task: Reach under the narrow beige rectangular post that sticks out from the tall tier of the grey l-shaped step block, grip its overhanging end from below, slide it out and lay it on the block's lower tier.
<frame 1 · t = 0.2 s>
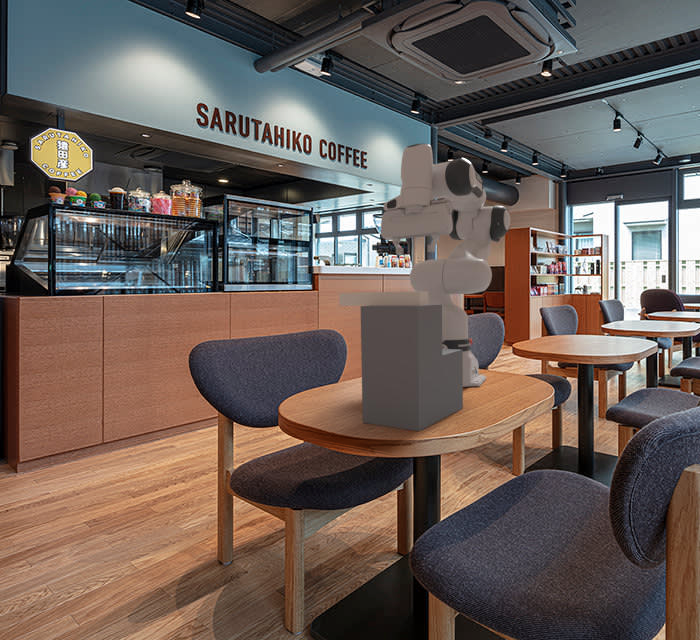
hand: (415, 253, 137), 39 cm above the table, tool pointing down, fingers open, 8 cm apart
grey l-shaped step block: (415, 415, 119), on the table
beige rectangular post: (382, 305, 115), point 26 cm above the table, touching grey l-shaped step block
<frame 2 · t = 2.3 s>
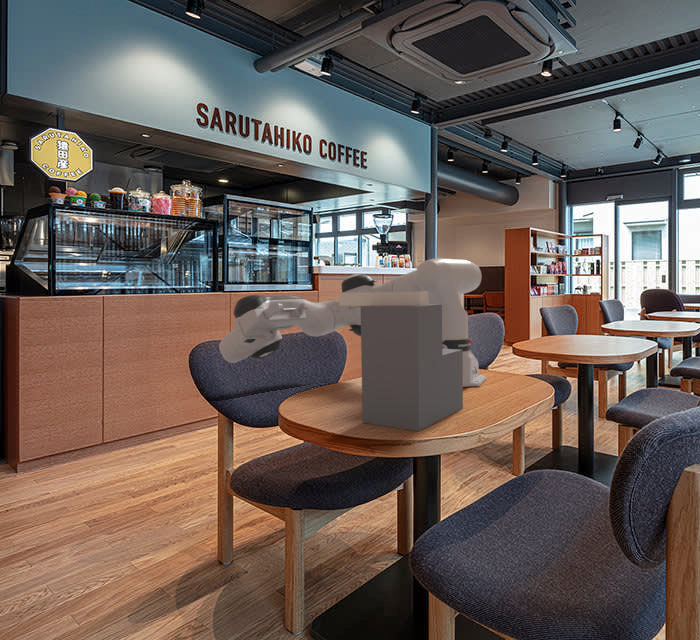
hand: (293, 305, 132), 26 cm above the table, tool pointing upward, fingers open, 8 cm apart
nothing on the table moved.
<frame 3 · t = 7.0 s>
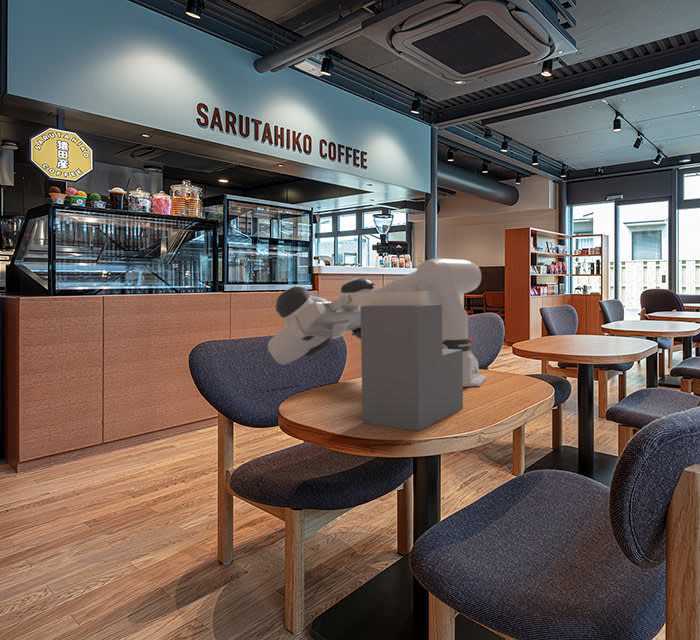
hand: (355, 297, 119), 28 cm above the table, tool pointing upward, fingers closed on beige rectangular post, 4 cm apart
beige rectangular post: (382, 305, 115), point 26 cm above the table, touching gripper, grey l-shaped step block
when the fingers open (19 cm above the table, at t = 17.0 s): beige rectangular post drops 2 cm, resting on grey l-shaped step block.
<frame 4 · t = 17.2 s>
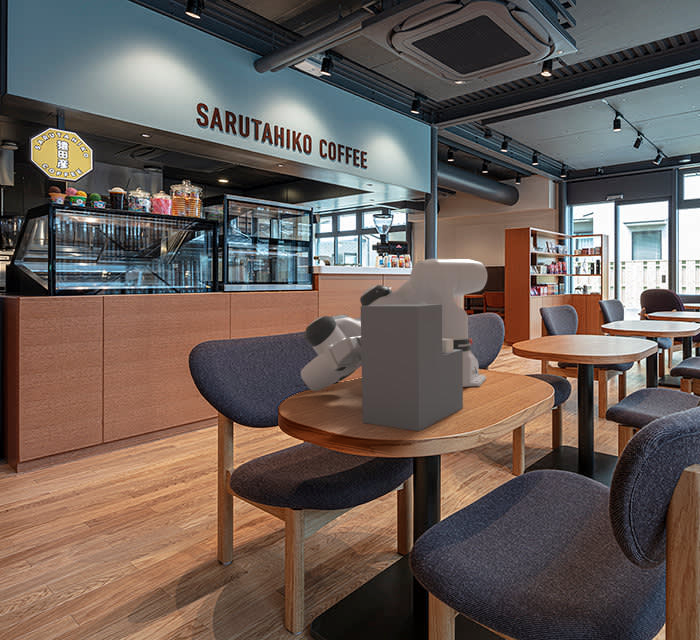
hand: (385, 331, 129), 19 cm above the table, tool pointing upward, fingers open, 6 cm apart
beige rectangular post: (410, 350, 125), point 14 cm above the table, touching grey l-shaped step block
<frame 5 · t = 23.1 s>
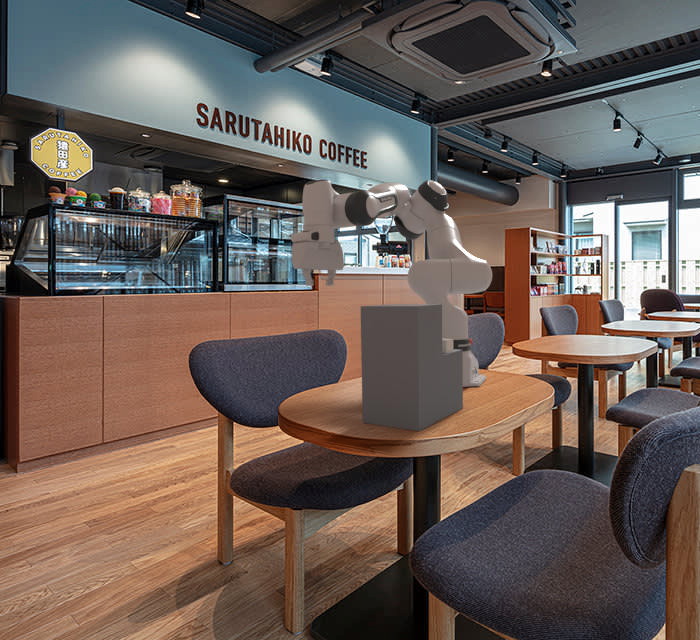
hand: (320, 285, 145), 31 cm above the table, tool pointing down, fingers open, 8 cm apart
nothing on the table moved.
at the end: beige rectangular post inside the target area (0.7 cm from its centre), point 14.5 cm above the table; the gripper is holding nothing; beige rectangular post tilted 0° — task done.
